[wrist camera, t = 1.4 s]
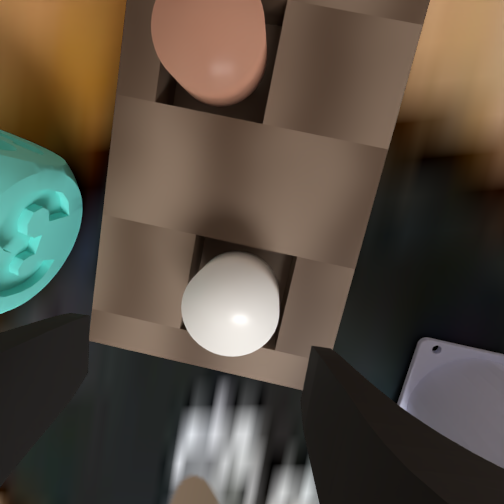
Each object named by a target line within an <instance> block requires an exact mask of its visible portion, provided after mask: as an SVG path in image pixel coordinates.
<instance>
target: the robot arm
mask: <svg viewBox="0 0 504 504" xmlns="http://www.w3.org/2000/svg"><path fill="white" fill-rule="evenodd" d="M89 324H90V316H89V315H81V314H74V313H69V314H63V315H59V316H55V317H51V318H48V319H44V320H41V321H38V322H34V323H31V324H28V325H24V326H21V327H18V328H15V329H11V330H8V331H5V332H1V333H0V487H1V485H2V484H3V483H4V481H5V480H6V479H7V477H8V476H9V475H10V474H11V472H12V471H13V470H14V468H15V467H16V466H17V465H18V463H19V462H20V461H21V460H22V459H23V457H24V456H25V455H26V454H27V453H28V451H29V450H30V449H31V448H32V447H33V445H34V444H35V443H36V442H37V441H38V439H39V438H40V437H41V436H42V435H43V433H44V432H45V431H46V430H47V429H48V427H49V426H50V425H51V424H52V423H53V421H54V420H55V419H56V418H57V416H58V415H59V414H60V413H61V412H62V410H63V409H64V408H65V407H66V405H67V404H68V403H69V402H70V400H71V399H72V397H73V396H74V394H75V393H76V391H77V390H78V388H79V387H80V385H81V383H82V382H83V380H84V378H85V377H86V375H87V373H88V358H89ZM434 346H438V349H437V350H435V351H432V348H433V347H434ZM301 410H302V421H303V431H304V436H305V440H306V445H307V449H308V454H309V459H310V463H311V467H312V472H313V476H314V481H315V485H316V490H317V494H318V499H319V503H320V504H504V354H500V353H496V352H491V351H487V350H482V349H478V348H474V347H469V346H465V345H460V344H456V343H451V342H447V341H442V340H438V339H433V338H429V337H424V338H421V339H420V340H419V341H418V343H417V346H416V349H415V352H414V355H413V358H412V361H411V364H410V367H409V370H408V373H407V376H406V379H405V382H404V385H403V387H402V390H401V393H400V396H399V399H398V402H397V404H396V403H395V402H394V401H392V400H391V399H390V398H389V397H387V396H386V395H385V394H383V393H382V392H381V391H380V390H378V389H377V388H376V387H375V386H374V385H372V384H371V383H370V382H369V381H368V380H367V379H365V378H364V377H363V376H362V375H361V374H360V373H359V372H357V371H356V370H355V369H354V368H353V367H352V366H351V365H350V364H349V363H347V362H346V361H345V360H344V359H343V358H342V357H341V356H340V355H338V354H337V353H336V352H335V351H333V350H332V349H331V348H325V347H318V346H311V351H310V356H309V361H308V366H307V371H306V376H305V381H304V386H303V391H302V396H301Z"/></svg>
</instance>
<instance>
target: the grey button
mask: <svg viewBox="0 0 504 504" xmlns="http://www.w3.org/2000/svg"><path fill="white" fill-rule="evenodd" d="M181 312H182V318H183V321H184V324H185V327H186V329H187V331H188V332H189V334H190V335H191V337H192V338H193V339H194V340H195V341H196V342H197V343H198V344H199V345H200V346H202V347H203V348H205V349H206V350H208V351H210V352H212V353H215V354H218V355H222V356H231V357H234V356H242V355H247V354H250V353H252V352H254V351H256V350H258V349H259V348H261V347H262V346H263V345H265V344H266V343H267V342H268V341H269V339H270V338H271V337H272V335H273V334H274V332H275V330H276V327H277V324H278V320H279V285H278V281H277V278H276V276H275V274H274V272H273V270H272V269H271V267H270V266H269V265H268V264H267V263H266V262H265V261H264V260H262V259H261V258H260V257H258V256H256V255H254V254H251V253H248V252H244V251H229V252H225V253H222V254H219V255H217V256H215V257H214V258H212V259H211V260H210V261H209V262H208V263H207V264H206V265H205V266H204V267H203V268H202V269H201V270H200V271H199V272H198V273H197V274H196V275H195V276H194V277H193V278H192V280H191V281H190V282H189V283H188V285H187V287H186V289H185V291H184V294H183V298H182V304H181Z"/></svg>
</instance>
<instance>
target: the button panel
mask: <svg viewBox="0 0 504 504" xmlns="http://www.w3.org/2000/svg"><path fill="white" fill-rule="evenodd" d="M429 2H430V0H261V3H262V6H263V10H264V17H265V29H266V41H267V64H266V69H265V72H264V75H263V78H262V80H261V81H260V83H259V85H258V86H257V88H256V89H255V90H254V91H253V92H252V94H251V95H249V96H248V97H247V98H246V99H244V100H243V101H241V102H239V103H237V104H234V105H231V106H225V107H215V106H209V105H206V104H204V103H201V102H199V101H198V100H196V99H195V98H193V97H192V96H191V95H190V94H189V93H188V92H187V91H186V90H185V89H184V88H183V87H182V86H181V85H180V84H179V83H178V81H177V80H176V79H175V78H174V77H173V76H172V75H171V74H170V73H169V72H168V71H167V70H166V68H165V67H164V66H163V64H162V63H161V61H160V59H159V57H158V55H157V53H156V51H155V48H154V44H153V40H152V34H151V17H152V11H153V7H154V4H155V0H127V2H126V11H125V20H124V29H123V38H122V47H121V56H120V65H119V74H118V83H117V92H116V101H115V110H114V118H113V127H112V136H111V145H110V154H109V163H108V172H107V181H106V190H105V199H104V208H103V217H102V226H101V235H100V244H99V253H98V262H97V271H96V279H95V288H94V297H93V306H92V315H91V324H90V333H89V341H93V342H97V343H102V344H106V345H110V346H114V347H119V348H123V349H127V350H132V351H136V352H140V353H145V354H149V355H153V356H157V357H162V358H166V359H170V360H175V361H179V362H183V363H188V364H192V365H196V366H201V367H205V368H209V369H213V370H218V371H222V372H226V373H231V374H235V375H239V376H244V377H248V378H252V379H256V380H261V381H265V382H269V383H274V384H278V385H282V386H287V387H291V388H295V389H300V390H303V386H304V381H305V376H306V371H307V366H308V361H309V356H310V351H311V346H318V347H325V348H331V349H332V350H333V346H334V343H335V339H336V335H337V332H338V328H339V325H340V321H341V317H342V314H343V310H344V307H345V303H346V299H347V296H348V292H349V289H350V285H351V282H352V278H353V274H354V271H355V267H356V264H357V260H358V256H359V253H360V249H361V246H362V242H363V238H364V235H365V231H366V228H367V224H368V221H369V217H370V213H371V210H372V206H373V203H374V199H375V195H376V192H377V188H378V185H379V181H380V177H381V174H382V170H383V167H384V163H385V159H386V156H387V152H388V149H389V145H390V142H391V138H392V134H393V131H394V127H395V124H396V120H397V116H398V113H399V109H400V106H401V102H402V98H403V95H404V91H405V88H406V84H407V81H408V77H409V73H410V70H411V66H412V63H413V59H414V55H415V52H416V48H417V45H418V41H419V37H420V34H421V30H422V27H423V23H424V19H425V16H426V12H427V9H428V5H429ZM229 251H244V252H248V253H251V254H254V255H256V256H258V257H260V258H261V259H262V260H264V261H265V262H266V263H267V264H268V265H269V266H270V267H271V269H272V270H273V272H274V274H275V276H276V278H277V281H278V285H279V320H278V324H277V327H276V330H275V332H274V334H273V335H272V337H271V338H270V339H269V341H268V342H267V343H266V344H265V345H263V346H262V347H261V348H259V349H258V350H256V351H254V352H252V353H250V354H247V355H242V356H234V357H231V356H222V355H218V354H215V353H212V352H210V351H208V350H206V349H205V348H203V347H202V346H200V345H199V344H198V343H197V342H196V341H195V340H194V339H193V338H192V337H191V335H190V334H189V332H188V331H187V329H186V327H185V324H184V321H183V318H182V312H181V304H182V298H183V294H184V291H185V289H186V287H187V285H188V283H189V282H190V281H191V280H192V278H193V277H194V276H195V275H196V274H197V273H198V272H199V271H200V270H201V269H202V268H203V267H204V266H205V265H206V264H207V263H208V262H209V261H210V260H211V259H212V258H214V257H215V256H217V255H219V254H222V253H225V252H229Z"/></svg>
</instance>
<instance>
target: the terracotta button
mask: <svg viewBox="0 0 504 504" xmlns="http://www.w3.org/2000/svg"><path fill="white" fill-rule="evenodd" d="M151 34H152V40H153V44H154V48H155V51H156V53H157V55H158V57H159V59H160V61H161V63H162V64H163V66H164V67H165V68H166V70H167V71H168V72H169V73H170V74H171V75H172V76H173V77H174V78H175V79H176V80H177V81H178V83H179V84H180V85H181V86H182V87H183V88H184V89H185V90H186V91H187V92H188V93H189V94H190V95H191V96H192V97H193V98H195V99H196V100H198V101H199V102H201V103H204V104H206V105H209V106H215V107H225V106H231V105H234V104H237V103H239V102H241V101H243V100H244V99H246V98H247V97H248V96H249V95H251V94H252V92H253V91H254V90H255V89H256V88H257V86H258V85H259V83H260V81H261V80H262V78H263V75H264V72H265V69H266V64H267V41H266V29H265V17H264V10H263V6H262V3H261V0H155V4H154V7H153V11H152V17H151Z"/></svg>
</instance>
